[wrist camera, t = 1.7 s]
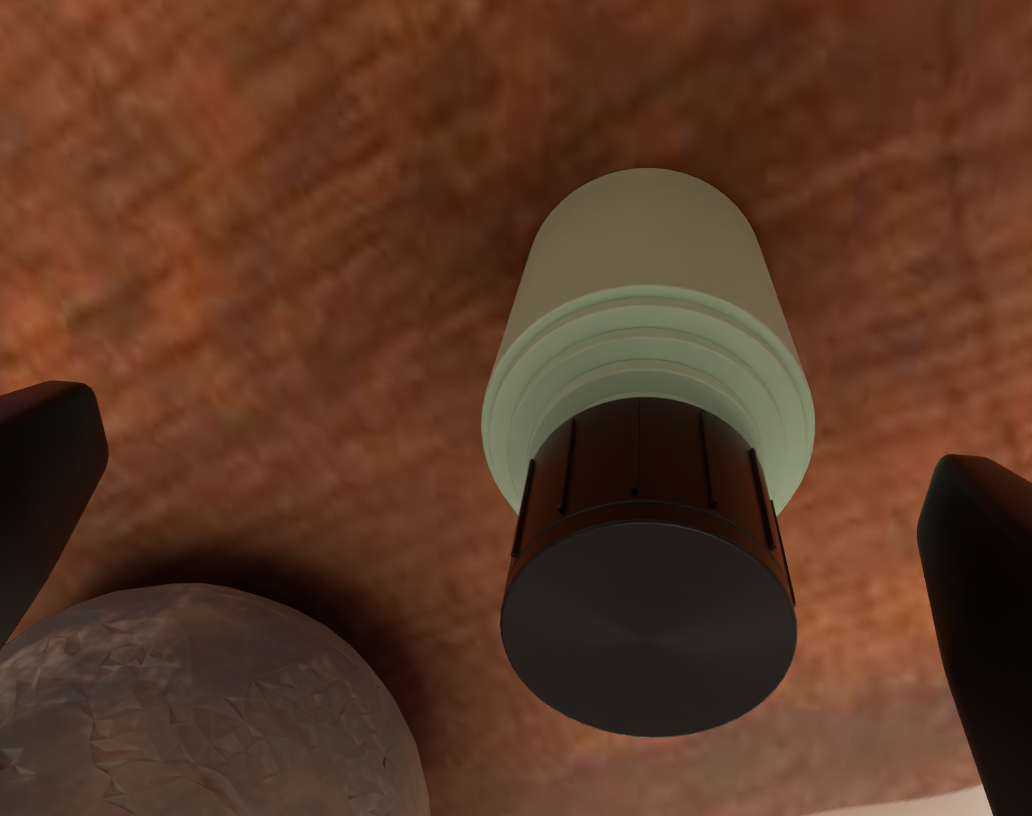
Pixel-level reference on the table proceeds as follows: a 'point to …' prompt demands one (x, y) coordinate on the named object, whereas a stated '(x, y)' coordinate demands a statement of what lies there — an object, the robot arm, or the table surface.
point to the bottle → (647, 326)
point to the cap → (648, 573)
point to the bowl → (198, 713)
